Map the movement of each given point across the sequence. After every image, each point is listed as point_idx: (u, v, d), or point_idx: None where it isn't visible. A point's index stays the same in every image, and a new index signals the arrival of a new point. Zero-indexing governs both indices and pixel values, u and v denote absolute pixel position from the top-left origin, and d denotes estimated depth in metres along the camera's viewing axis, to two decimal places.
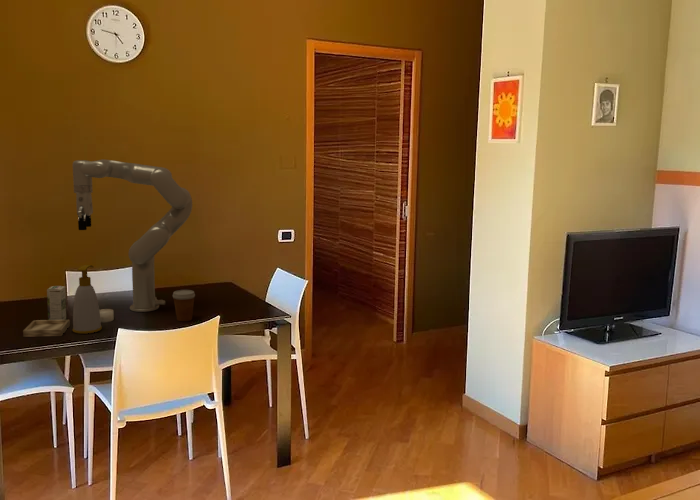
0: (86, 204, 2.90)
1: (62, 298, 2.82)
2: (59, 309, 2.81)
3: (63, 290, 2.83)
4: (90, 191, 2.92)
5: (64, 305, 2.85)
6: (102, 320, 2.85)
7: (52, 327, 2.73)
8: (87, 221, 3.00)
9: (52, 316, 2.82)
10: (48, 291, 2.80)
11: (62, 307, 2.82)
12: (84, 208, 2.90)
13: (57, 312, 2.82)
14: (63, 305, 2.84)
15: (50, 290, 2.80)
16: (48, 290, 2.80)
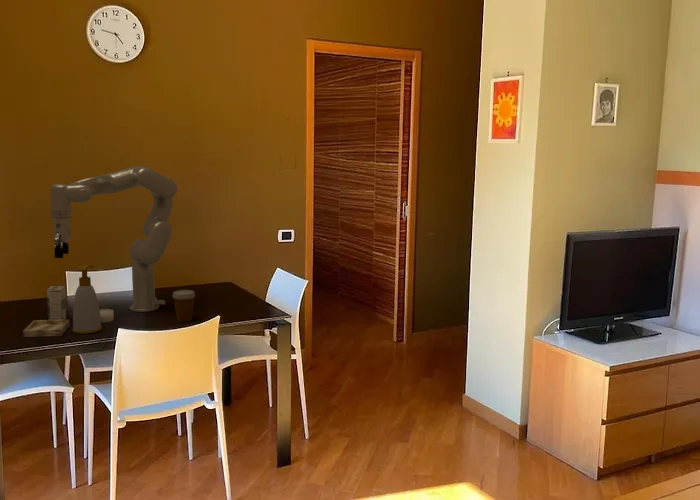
0: (64, 231, 2.74)
1: (62, 298, 2.82)
2: (59, 309, 2.81)
3: (63, 290, 2.83)
4: (68, 217, 2.77)
5: (64, 305, 2.85)
6: (102, 320, 2.85)
7: (52, 327, 2.73)
8: (64, 248, 2.84)
9: (52, 316, 2.82)
10: (48, 291, 2.80)
11: (62, 307, 2.82)
12: (61, 235, 2.74)
13: (57, 312, 2.82)
14: (63, 305, 2.84)
15: (50, 290, 2.80)
16: (48, 290, 2.80)
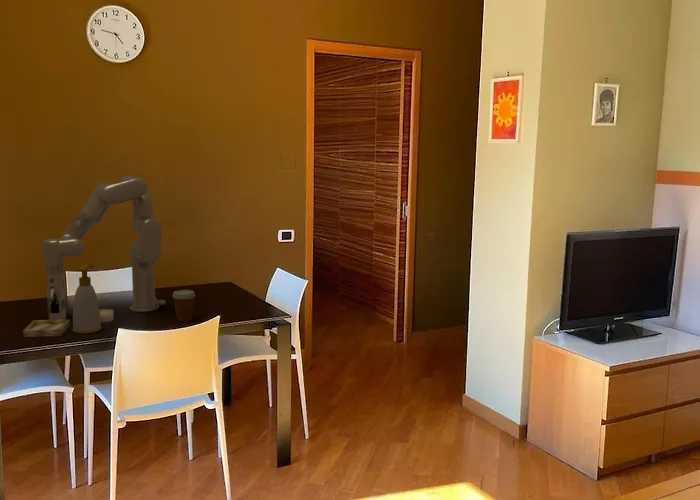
0: (57, 285, 2.78)
1: (62, 298, 2.82)
2: (59, 308, 2.81)
3: (63, 290, 2.83)
4: (62, 271, 2.80)
5: (64, 305, 2.85)
6: (102, 320, 2.85)
7: (52, 327, 2.73)
8: None
9: (52, 316, 2.82)
10: None
11: (62, 307, 2.82)
12: (55, 289, 2.78)
13: None
14: (63, 305, 2.84)
15: None
16: None
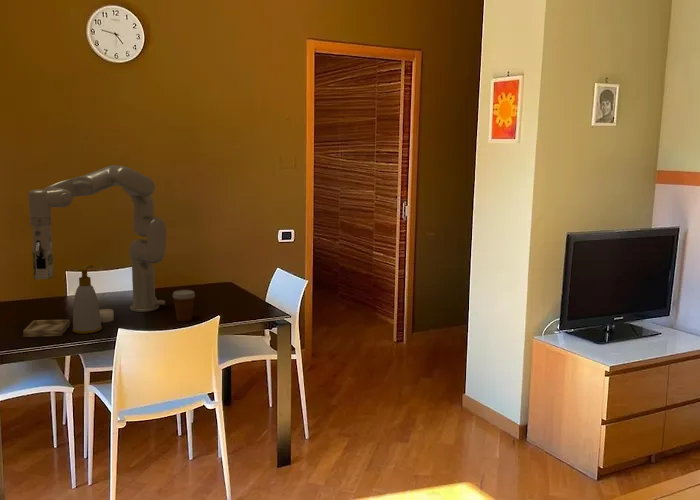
0: (44, 238, 2.60)
1: (49, 253, 2.65)
2: (46, 264, 2.64)
3: (50, 244, 2.66)
4: (48, 224, 2.62)
5: (51, 261, 2.67)
6: (102, 320, 2.85)
7: (52, 327, 2.73)
8: None
9: (38, 272, 2.64)
10: None
11: (48, 263, 2.64)
12: (41, 243, 2.60)
13: None
14: (50, 261, 2.66)
15: None
16: None
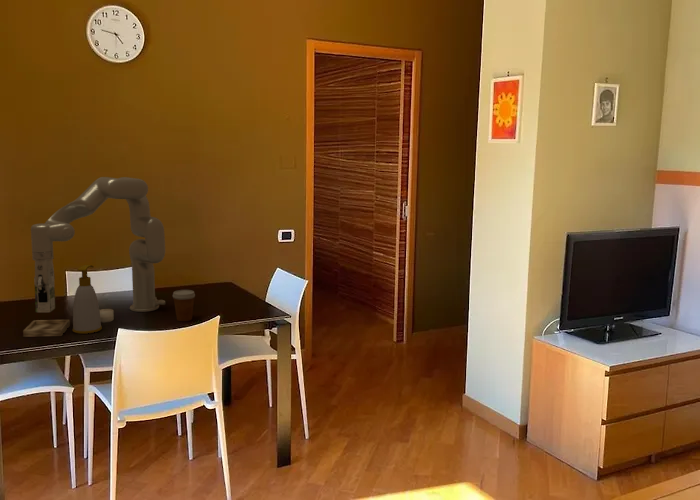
0: (46, 273, 2.63)
1: (50, 286, 2.67)
2: (48, 297, 2.66)
3: None
4: (50, 258, 2.65)
5: (53, 294, 2.70)
6: (102, 320, 2.85)
7: (52, 327, 2.73)
8: None
9: (39, 305, 2.66)
10: None
11: (50, 296, 2.67)
12: (43, 277, 2.62)
13: None
14: (52, 294, 2.69)
15: None
16: None
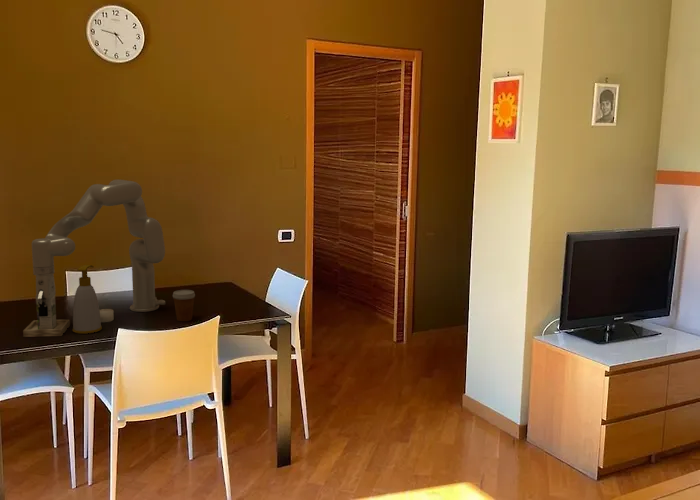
0: (47, 287, 2.64)
1: (52, 304, 2.69)
2: (50, 315, 2.68)
3: None
4: (51, 272, 2.66)
5: (54, 311, 2.71)
6: (102, 320, 2.85)
7: None
8: None
9: (42, 323, 2.68)
10: None
11: (52, 313, 2.69)
12: (44, 292, 2.64)
13: (48, 318, 2.68)
14: (53, 311, 2.71)
15: None
16: None
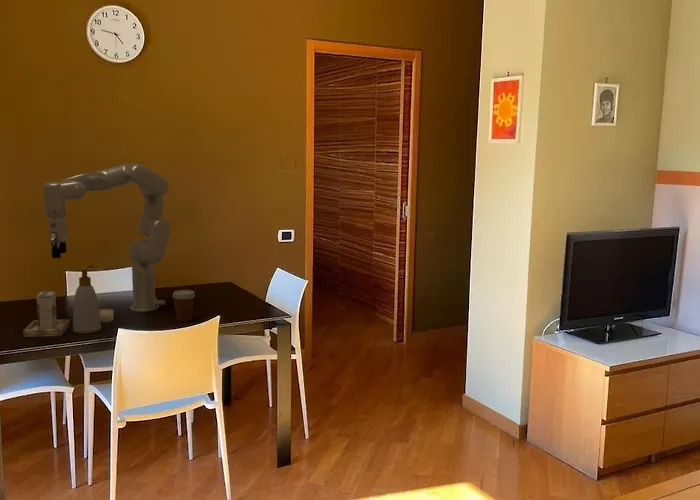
0: (59, 230, 2.68)
1: (53, 304, 2.69)
2: (50, 315, 2.68)
3: (53, 296, 2.70)
4: (63, 215, 2.70)
5: (54, 311, 2.71)
6: (102, 320, 2.85)
7: None
8: (62, 247, 2.78)
9: (42, 323, 2.68)
10: (38, 297, 2.66)
11: (52, 314, 2.69)
12: (57, 234, 2.67)
13: (48, 318, 2.68)
14: (54, 312, 2.71)
15: (40, 296, 2.66)
16: (38, 296, 2.66)
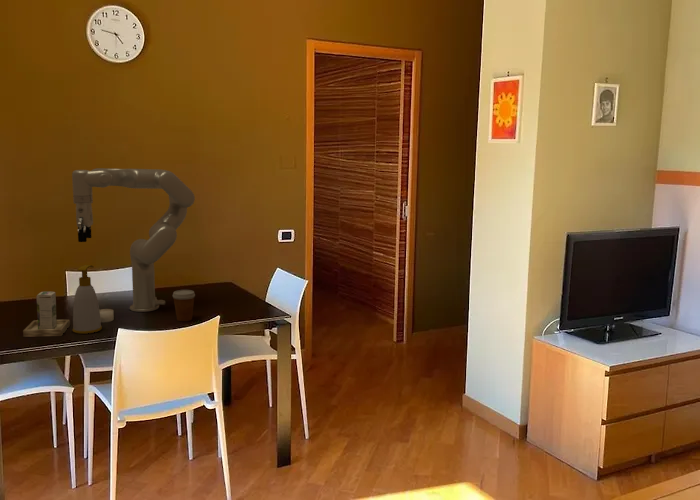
0: (86, 215, 2.81)
1: (52, 304, 2.69)
2: (50, 315, 2.68)
3: (53, 296, 2.70)
4: (90, 202, 2.84)
5: (54, 311, 2.71)
6: (102, 320, 2.85)
7: None
8: (87, 232, 2.92)
9: (42, 323, 2.68)
10: (38, 297, 2.66)
11: (52, 314, 2.69)
12: (84, 219, 2.81)
13: (48, 318, 2.68)
14: (54, 312, 2.71)
15: (40, 296, 2.66)
16: (38, 296, 2.66)
